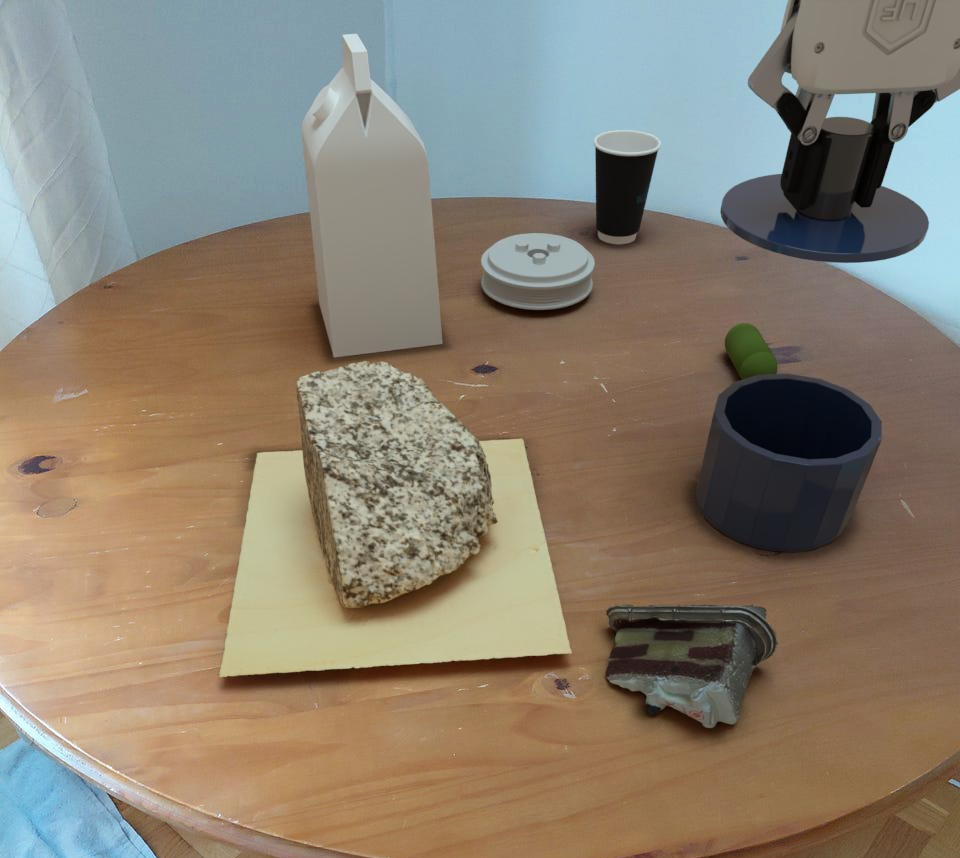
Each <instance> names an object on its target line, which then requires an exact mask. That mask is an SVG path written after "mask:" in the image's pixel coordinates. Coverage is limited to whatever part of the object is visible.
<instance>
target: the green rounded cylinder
mask: <svg viewBox="0 0 960 858" xmlns="http://www.w3.org/2000/svg"><path fill="white" fill-rule="evenodd" d="M724 349H725V352H726V353H727V355H728V357H729V358H730V361H731V363H732V365H733V367H734V368H735V370H736V372H737V374H738V376H739V377H740V380H743V379H747V378H750V377H753V376H756V375H765V374H778V373H777V372H778V362H777V359H776V357H775V355H774V353H773V352H772V349H770V347H769V345H768V343H767V342H766V340H765V338H764V337H763V335H762V333H761V332H760V330H759V329H758V328H757V327H756V326H755V325H753V324H751V323H747V322H743V323H738V324H736V325H734V326H732V328H730V329H729V330H728V332H727V333H726V336H725V338H724Z"/></svg>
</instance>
